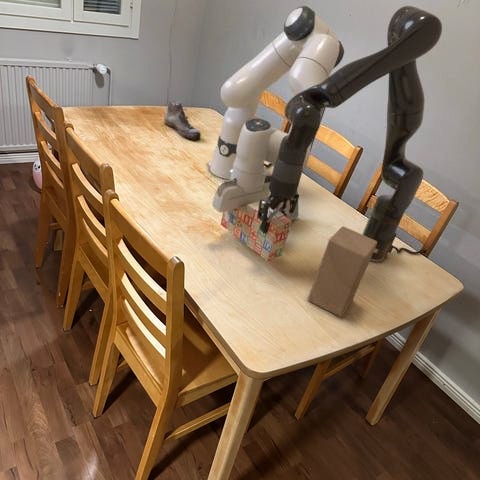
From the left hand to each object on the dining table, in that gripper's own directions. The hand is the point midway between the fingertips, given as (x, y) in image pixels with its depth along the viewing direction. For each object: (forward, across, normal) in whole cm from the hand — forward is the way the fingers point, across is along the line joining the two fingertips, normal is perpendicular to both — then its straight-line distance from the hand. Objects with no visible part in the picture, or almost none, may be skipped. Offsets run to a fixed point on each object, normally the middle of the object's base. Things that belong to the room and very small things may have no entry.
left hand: (237, 217), depth 134 cm
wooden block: (+8, +4, -36) cm, 37 cm away
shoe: (+8, +40, +81) cm, 90 cm away
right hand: (-4, 0, -14) cm, 14 cm away
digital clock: (+8, +22, +1) cm, 24 cm away
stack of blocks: (+4, 0, -7) cm, 8 cm away
